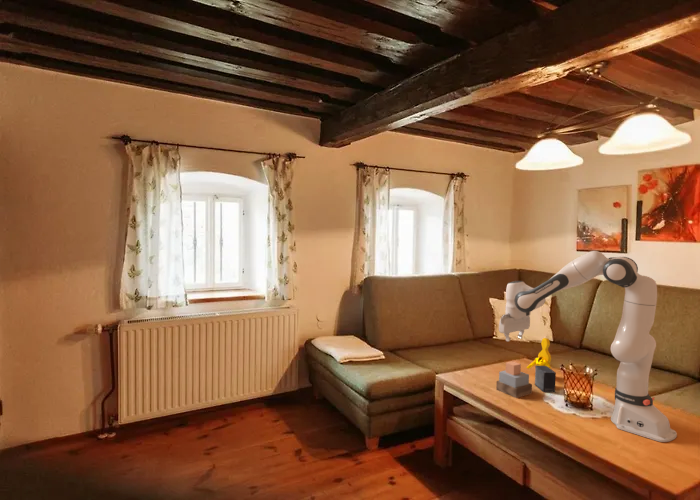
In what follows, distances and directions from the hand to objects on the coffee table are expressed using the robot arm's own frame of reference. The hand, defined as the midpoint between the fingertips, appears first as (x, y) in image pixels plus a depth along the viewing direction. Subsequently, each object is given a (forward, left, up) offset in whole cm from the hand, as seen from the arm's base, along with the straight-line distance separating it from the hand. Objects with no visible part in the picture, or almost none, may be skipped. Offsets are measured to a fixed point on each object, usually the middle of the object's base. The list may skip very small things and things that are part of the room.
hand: (514, 339), depth 205 cm
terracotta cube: (0, 0, -17) cm, 17 cm away
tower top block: (0, 0, -22) cm, 22 cm away
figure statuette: (+4, -31, -27) cm, 41 cm away
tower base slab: (0, -1, -27) cm, 27 cm away
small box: (-6, -18, -27) cm, 33 cm away
